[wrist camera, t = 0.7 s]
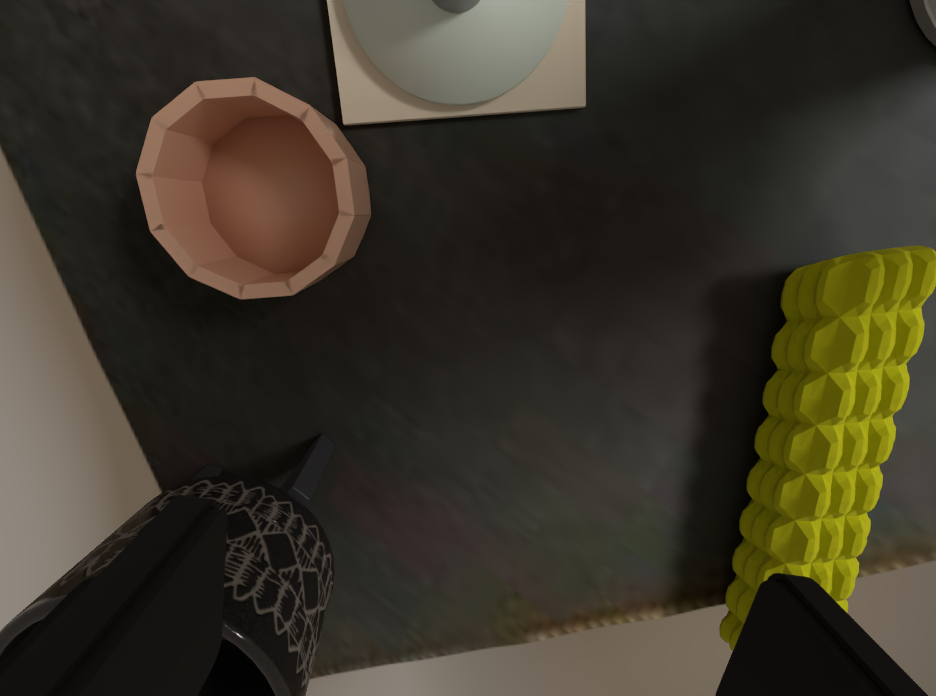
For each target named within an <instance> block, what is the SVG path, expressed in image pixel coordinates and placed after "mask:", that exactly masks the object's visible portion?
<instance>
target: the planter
mask: <svg viewBox="0 0 936 696" xmlns="http://www.w3.org/2000/svg"><path fill="white" fill-rule="evenodd" d="M335 445H336V444H335V443H334V442H333V441H331V440H330V439H329V438H328V437H326V436H325V435H324V434H321V435H320V436H319V437H318V438H317V439H316V440H315V441H314V442H313V444H312V445H311V447H310V448H309V450H308V451H307V453H306V454H305V456H304V457H303V459H302V460H301V462H300V463H299V464H298V466H297V467H296V468H295V470H294V471H293V472H292V474H291V475H290V476H289V478H288V479H287V480H286V482H285V483H284V484H283V485H282V487H281V488H280V489H279V488H277V487H274V486H272V485H270V484H267V483H265V482H262V481H258V480H254V479H251V478H245V477H238V476H221V474H222V468H220V467H215V466H211V465H207V466H206V467H204V468H203V469H202V470H201V471H200V472H199V473H198V474H197V475H196V476H195V477H194V478H193V479H192V480H190V481H187V482H183V483H181V484H178V485H176V486H174V487H172V488H170V489H168V490H166V491H164V492H163V493H161V494H160V495H159V496H157V497H156V498H154V499H153V500H151V501H150V502H149V503H147V504H146V505H145V506H144V507H143V508H142V509H140V510H139V511H138V512H137V513H136V514H135V515H133V516H132V517H131V518H130V519H129V520H128V521H126V522H125V523H124V524H123V525H122V526H121V527H119V528H118V529H117V530H116V531H115V532H114V533H112V534H111V535H110V536H109V537H108V538H107V539H105V540H104V541H103V542H102V543H101V544H100V545H99V546H97V547H96V548H95V549H94V550H93V551H91V552H90V553H89V554H88V555H87V556H86V557H84V558H83V559H82V560H81V561H80V562H79V563H77V564H76V565H75V566H74V567H73V568H72V569H71V570H69V571H68V572H67V573H66V574H65V575H64V576H62V577H61V578H60V579H59V580H58V581H57V582H55V583H54V584H53V585H52V586H51V587H50V588H48V589H47V590H46V591H45V592H44V593H43V594H41V595H40V596H39V597H38V598H37V599H36V600H35V601H33V602H32V603H31V604H30V605H29V606H27V607H26V608H25V609H24V610H23V611H22V612H20V613H19V614H18V615H17V616H16V617H15V618H14V619H12V620H11V621H10V622H9V623H8V624H7V625H6V626H5V627H4V628H3V629H2V630H1V631H0V662H1V661H2V660H3V659H4V658H5V657H6V656H7V655H8V654H9V653H10V652H11V651H12V650H13V649H14V648H15V647H16V646H17V645H18V644H19V643H20V642H21V641H22V640H23V639H24V638H25V637H26V636H27V635H28V634H29V633H30V632H31V631H32V630H33V629H34V628H35V627H36V626H37V625H38V624H39V623H40V622H41V621H42V620H43V619H44V618H45V617H46V616H47V615H48V614H49V613H50V612H51V611H52V610H53V609H54V608H55V607H56V606H57V605H58V604H59V603H60V602H61V601H62V600H63V599H64V598H65V597H66V596H67V595H68V594H69V593H70V592H71V591H72V590H73V589H74V588H75V587H76V586H78V585H79V584H80V583H81V582H82V581H84V580H85V579H88V578H90V577H93V576H96V577H97V576H98V575H99V574H100V573H101V572H102V571H103V570H104V569H105V568H106V567H107V565H108V564H109V563H110V562H111V561H112V560H113V559H114V558H115V557H116V556H117V555H118V554H119V553H120V552H121V551H122V550H123V549H124V548H125V547H126V546H127V545H128V544H129V543H130V542H131V541H132V540H133V539H134V538H135V537H136V536H137V535H138V534H139V533H140V532H141V531H142V530H143V528H144V527H145V526H146V525H147V524H148V523H149V522H150V521H151V520H152V519H153V518H154V517H155V516H156V515H157V514H158V513H159V512H160V511H161V510H162V509H163V508H164V507H165V506H166V505H167V504H168V503H169V502H170V501H171V500H172V499H173V498H174V497H175V496H177V495H186V496H194V497H201V498H209V499H214V500H216V501H217V504H218V509H220V510H225V511H226V512H227V538H226V559H225V580H224V601H223V621H222V639H221V645H220V649H219V652H218V655H217V658H216V661H215V663H214V665H213V667H212V669H211V671H210V673H209V675H208V677H207V679H206V680H205V682H204V684H203V686H202V688H201V690H200V692H199V694H198V696H305V695H306V691H307V687H308V683H309V679H310V675H311V672H312V668H313V664H314V660H315V656H316V652H317V648H318V644H319V640H320V636H321V632H322V628H323V624H324V621H325V617H326V613H327V609H328V605H329V601H330V597H331V593H332V589H333V581H334V559H333V554H332V550H331V546H330V543H329V541H328V538H327V536H326V534H325V532H324V530H323V528H322V527H321V525H320V524H319V522H318V521H317V519H316V518H315V516H314V515H313V514H312V513H311V512H310V511H309V510H308V509H307V508H306V507H305V506H304V505H305V504H306V503H307V502H308V501H309V500H310V498H311V496H312V494H313V492H314V490H315V488H316V485H317V483H318V481H319V479H320V477H321V475H322V473H323V470H324V468H325V466H326V464H327V462H328V460H329V458H330V456H331V453H332V451H333V449H334V447H335Z"/></svg>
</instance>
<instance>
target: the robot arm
mask: <svg viewBox="0 0 936 696" xmlns="http://www.w3.org/2000/svg"><path fill="white" fill-rule="evenodd" d="M910 4H911V7H912V10H913V13H914V16H915V18H916V21H917V23H918V25H919V26H920V28H921V30H922V31H923V33H924V34H925V36H926V38H927V39H928V40H929V41H930V42H931V43H932V44H933V45H934V46H936V0H910ZM226 538H227V512H226V511H225V510H220V509H218V504H217V501H216V500H214V499H209V498H201V497H194V496H186V495H177V496H175V497H174V498H173V499H172V500H171V501H170V502H169V503H168V504H167V505H166V506H165V507H164V508H163V509H162V510H161V511H160V512H159V513H158V514H157V515H156V516H155V517H154V518H153V519H152V520H151V521H150V522H149V523H148V524H147V525H146V526H145V527H144V528H143V530H142V531H141V532H140V533H139V534H138V535H137V536H136V537H135V538H134V539H133V540H132V541H131V542H130V543H129V544H128V545H127V546H126V547H125V548H124V549H123V550H122V551H121V552H120V553H119V554H118V555H117V556H116V557H115V558H114V559H113V560H112V561H111V562H110V563H109V564H108V565H107V567H106V568H105V569H104V570H103V571H102V572H101V573H100V574H99V575H98V576H97V577H96V576H93V577H90V578H88V579H85V580H84V581H82V582H81V583H80V584H79V585H78V586H76V587H75V588H74V589H73V590H72V591H71V592H70V593H69V594H68V595H67V596H66V597H65V598H64V599H63V600H62V601H61V602H60V603H59V604H58V605H57V606H56V607H55V608H54V609H53V610H52V611H51V612H50V613H49V614H48V615H47V616H46V617H45V618H44V619H43V620H42V621H41V622H40V623H39V624H38V625H37V626H36V627H35V628H34V629H33V630H32V631H31V632H30V633H29V634H28V635H27V636H26V637H25V638H24V639H23V640H22V641H21V642H20V643H19V644H18V645H17V646H16V647H15V648H14V649H13V650H12V651H11V652H10V653H9V654H8V655H7V656H6V657H5V658H4V659H3V660H2V661H1V662H0V696H198V694H199V692H200V690H201V688H202V686H203V684H204V682H205V680H206V679H207V677H208V675H209V673H210V671H211V669H212V667H213V665H214V663H215V661H216V658H217V655H218V652H219V649H220V645H221V639H222V621H223V601H224V580H225V559H226ZM716 696H928V695H927V694H926V693H925V692H924V691H923V690H922V689H921V688H920V687H919V686H918V685H917V684H916V683H915V682H914V681H913V680H912V679H911V678H910V677H909V676H908V675H907V674H906V673H905V672H904V671H903V670H902V669H901V668H900V667H899V666H898V665H897V663H896V662H895V661H894V660H893V659H892V658H891V657H890V656H889V655H888V654H887V653H886V652H885V651H884V650H883V649H882V648H881V647H880V646H879V645H878V644H877V643H876V642H875V641H874V640H873V639H872V638H871V637H870V636H869V635H868V634H867V633H866V632H865V631H864V630H863V629H862V628H861V627H860V626H859V625H858V624H857V623H856V622H855V621H854V620H853V619H852V618H851V617H850V616H849V615H848V613H847V612H846V611H845V610H844V609H843V608H842V607H841V606H840V605H839V604H838V603H837V602H836V601H835V600H834V599H833V598H832V597H831V596H830V595H829V594H828V593H827V592H826V591H825V590H824V589H823V588H822V587H821V586H820V585H819V584H818V583H817V582H816V581H814V580H813V579H811V578H809V577H805V576H797V575H790V574H782V573H774V574H772V575H771V576H769V577H768V579H767V581H764V582H762V583H761V584H760V586H759V588H758V591H757V593H756V596H755V598H754V601H753V603H752V605H751V608H750V610H749V613H748V615H747V618H746V620H745V623H744V625H743V628H742V630H741V633H740V635H739V637H738V640H737V642H736V645H735V647H734V650H733V652H732V655H731V657H730V660H729V662H728V665H727V667H726V670H725V672H724V674H723V677H722V679H721V682H720V685H719V687H718V690H717V692H716Z"/></svg>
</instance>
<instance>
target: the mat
mask: <svg viewBox="0 0 936 696" xmlns="http://www.w3.org/2000/svg"><path fill="white" fill-rule="evenodd" d="M327 5H328V12H329V20H330V27H331V35H332V42H333V50H334V58H335V65H336V73H337V80H338V88H339V95H340V103H341V110H342V118H343V124H344V125H345V126H349V125H362V124H375V123H389V122H402V121H416V120H429V119H442V118H456V117H469V116H482V115H496V114H509V113H523V112H536V111H549V110H563V109H576V108H584V107H585V106H586V50H585V0H568V3H567V7H566V11H565V14H564V18H563V21H562V23H561V26H560V28H559V31H558V33H557V36H556V37H555V39H554V41H553V43H552V45H551V47H550V49H549V50H548V52H547V54H546V55H545V56H544V58H543V59H542V61H541V62H540V63H539V65H538V66H537V67H536V68H535V69H534V71H533V72H532V73H531V74H530V75H529V76H528V77H527V78H526V79H525V80H523V81H522V82H521V83H520V84H519V85H518V86H516V87H515V88H513V89H512V90H510V91H508V92H507V93H505V94H504V95H501V96H499V97H497V98H495V99H493V100H490V101H487V102H483V103H480V104H475V105H468V106H446V105H439V104H434V103H431V102H427V101H424V100H421V99H419V98H417V97H415V96H412V95H410V94H408V93H407V92H405V91H404V90H402V89H400V88H399V87H397V86H396V85H395V84H394V83H392V82H391V81H390V80H389V79H387V78H386V77H385V76H384V75H383V74H382V73H381V72H380V71H379V69H378V68H377V67H376V66H375V65H374V64H373V62H372V61H371V60H370V58H369V57H368V56H367V54H366V53H365V51H364V49H363V48H362V46H361V44H360V42H359V41H358V39H357V37H356V35H355V33H354V31H353V28H352V26H351V24H350V21H349V19H348V16H347V13H346V9H345V6H344V3H343V0H327Z"/></svg>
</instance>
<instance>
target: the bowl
mask: <svg viewBox="0 0 936 696" xmlns="http://www.w3.org/2000/svg"><path fill="white" fill-rule="evenodd" d="M136 173H137V174H136V177H137V181H138V185H139V189H140V193H141V197H142V201H143V205H144V209H145V213H146V217H147V221H148V225H149V229H150V231H151V233H152V234H153V235H154V237H155V238H156V239H157V240H158V241H159V242H160V244H161V245H162V246H163V247H164V248H165V250H166V251H167V252H168V253H169V254H170V255H171V257H172V258H173V259H174V260H175V261H176V262H177V264H178V265H179V266H180V267H181V268H182V270H183V271H184V272H185V273H186V274H187V275H188V276H189V277H190V278H193V279H195V280H197V281H199V282H202V283H204V284H206V285H209V286H211V287H213V288H215V289H218V290H220V291H222V292H224V293H227V294H229V295H231V296H234V297H236V298H238V299H253V298H266V297H278V296H291V295H294V294H296V293H298V292H300V291H302V290H304V289H306V288H308V287H310V286H312V285H313V284H315V283H317V282H319V281H321V280H322V279H323V278H325V277H326V276H328V275H329V274H330V273H332V272H333V271H335V270H336V269H338V268H339V267H340V266H341V265H343V264H344V263H346V262H347V261H348V260H350V259H351V258H353V257H354V256H355V253H356V251H357V249H358V246H359V244H360V242H361V240H362V238H363V236H364V234H365V231H366V228H367V225H368V222H369V220H370V217H371V207H370V191H369V185H368V180H367V174H366V167H365V165H364V164H363V162H362V161H361V159H360V158H359V157H358V155H357V154H356V152H355V150H354V149H353V147H352V146H351V144H350V143H349V142H348V141H347V139H346V138H345V136H344V135H343V134H342V132H341V131H340V129H339V128H338V126H337V125H336V124H335V123H333V122H332V121H330V120H329V119H328V118H326V117H325V116H324V115H322V114H321V113H320V112H318V111H317V110H316V109H314V108H313V107H312V106H310V105H308V104H306V103H304V102H302V101H300V100H298V99H296V98H295V97H293V96H291V95H289V94H287V93H285V92H283V91H281V90H279V89H277V88H275V87H273V86H271V85H269V84H267V83H265V82H263V81H261V80H259V79H257V78H255V77H251V78H237V79H224V80H210V81H197V82H194V83H193V84H192V85H191V86H190V87H188V88H187V89H186V90H185V91H183V92H182V93H181V94H180V95H179V96H177V97H176V98H175V99H174V100H172V101H171V102H170V103H169V104H168V105H166V106H165V107H164V108H163V109H162V110H160V111H159V112H158V113H157V114H155V115H154V116H153V117H152V118H151V122H150V125H149V128H148V132H147V135H146V139H145V142H144V146H143V149H142V153H141V156H140V160H139V163H138V167H137V170H136Z"/></svg>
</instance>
